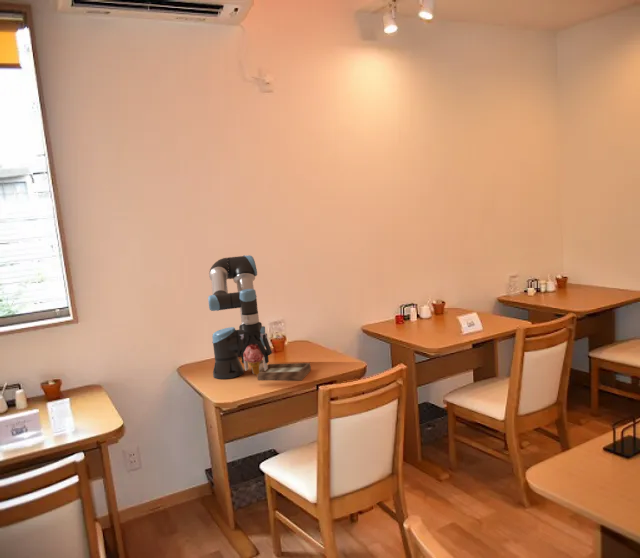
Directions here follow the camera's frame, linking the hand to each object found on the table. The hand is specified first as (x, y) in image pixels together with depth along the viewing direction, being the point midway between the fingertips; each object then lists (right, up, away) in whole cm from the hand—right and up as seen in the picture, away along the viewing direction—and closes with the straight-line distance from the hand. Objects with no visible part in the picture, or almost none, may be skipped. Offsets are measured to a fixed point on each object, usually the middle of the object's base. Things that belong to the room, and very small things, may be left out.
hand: (256, 369), depth 262 cm
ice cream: (+1, -3, 0) cm, 3 cm away
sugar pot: (-1, -6, +21) cm, 22 cm away
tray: (+13, -5, +13) cm, 19 cm away
